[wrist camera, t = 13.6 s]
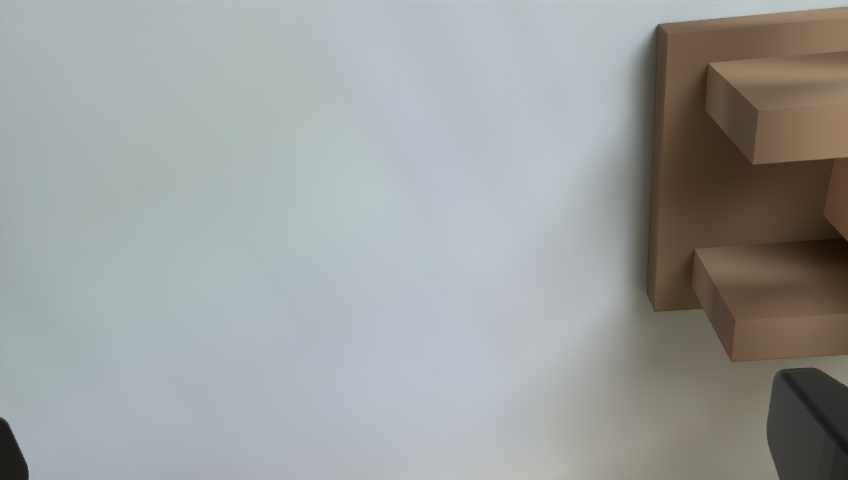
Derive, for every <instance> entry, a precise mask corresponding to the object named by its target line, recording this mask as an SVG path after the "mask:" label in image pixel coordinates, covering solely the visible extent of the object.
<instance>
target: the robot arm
mask: <svg viewBox="0 0 848 480" xmlns="http://www.w3.org/2000/svg"><path fill="white" fill-rule="evenodd" d="M767 440H768V445H769V448H770V452H771V455H772V458H773V461H774V464H775V467H776V470H777V473H778V476H779V479H780V480H848V387H847V386H845V385H844V384H842V383H840V382H839V381H837V380H835V379H834V378H832V377H831V376H829V375H827V374H826V373H824V372H822V371H820V370H818V369H816V368H796V369H782V370H780V371H779V372H777V373H776V375H775V377H774V379H773V385H772V392H771V399H770V406H769V413H768V420H767ZM0 480H29V472H28V466H27V463H26V461H25V459H24V457H23V454H22V452H21V450H20V448H19V446H18V443H17V441H16V439H15V437H14V435H13V432H12V430H11V428H10V426H9V424H8V422H7V421H6V420H4V419H3V418H2V417H0Z"/></svg>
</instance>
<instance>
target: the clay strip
mask: <svg viewBox="0 0 848 480" xmlns="http://www.w3.org/2000/svg"><path fill="white" fill-rule="evenodd" d="M823 216H824V217H825V218H826V219H827V220H828V221H829V222H830V223H831V224H832V225H833V226H834V227H835V228H836V230H837V231H838V232H839V233H840V234H841V235H842V236H843V237H844V238H845V239H846V240H847V241H848V157H843V158H834V163H833V168H832V173H831V178H830V183H829V188H828V193H827V198H826V203H825V208H824V213H823Z"/></svg>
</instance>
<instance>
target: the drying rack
mask: <svg viewBox="0 0 848 480" xmlns="http://www.w3.org/2000/svg"><path fill="white" fill-rule="evenodd" d="M843 157H848V7H840V8H829V9H818V10H807V11H796V12H785V13H775V14H764V15H753V16H742V17H731V18H720V19H709V20H698V21H687V22H676V23H665V24H658V45H657V68H656V92H655V115H654V138H653V161H652V185H651V208H650V231H649V254H648V277H647V295H648V297H649V300H650V302H651V304H652V307H653V309H654V311H655V312H659V311H674V310H689V309H704V310H705V312H706V314H707V316H708V318H709V320H710V322H711V324H712V326H713V328H714V329H715V331H716V333H717V335H718V337H719V339H720V341H721V343H722V345H723V347H724V349H725V351H726V352H727V354H728V356H729V358H730V360H731V362H736V361H752V360H768V359H784V358H800V357H816V356H832V355H848V241H847V240H846V239H845V238H844V237H843V236H842V235H841V234H840V233H839V232H838V231H837V230H836V228H835V227H834V226H833V225H832V224H831V223H830V222H829V221H828V220H827V219H826V218H825V217H824V216H823V213H824V208H825V203H826V198H827V193H828V188H829V183H830V178H831V173H832V168H833V163H834V158H843Z"/></svg>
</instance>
